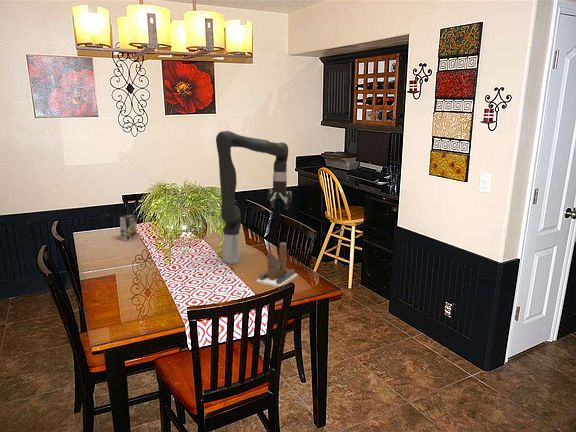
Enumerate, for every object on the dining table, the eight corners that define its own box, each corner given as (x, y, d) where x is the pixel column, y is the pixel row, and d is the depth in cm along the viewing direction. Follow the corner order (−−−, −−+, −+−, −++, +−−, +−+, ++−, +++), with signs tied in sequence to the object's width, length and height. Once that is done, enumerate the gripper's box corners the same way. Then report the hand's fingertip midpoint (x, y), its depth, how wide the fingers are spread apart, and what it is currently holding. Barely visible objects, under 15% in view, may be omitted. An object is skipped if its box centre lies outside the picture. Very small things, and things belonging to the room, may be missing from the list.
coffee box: (127, 241, 291) (126, 217, 287) (120, 240, 293) (119, 216, 289) (137, 238, 299) (136, 215, 295) (130, 236, 301) (129, 214, 297)
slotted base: (256, 282, 226) (256, 275, 226) (274, 271, 243) (274, 264, 242) (280, 288, 220) (280, 280, 219) (297, 276, 237) (297, 269, 236)
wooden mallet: (267, 278, 229) (267, 245, 225) (282, 273, 236) (283, 241, 232) (271, 280, 226) (272, 247, 222) (287, 275, 233) (288, 243, 229)
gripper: (294, 180, 239) (293, 209, 242) (271, 177, 245) (271, 206, 249) (288, 181, 232) (287, 211, 236) (265, 179, 238) (264, 208, 242)
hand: (279, 208), depth 242 cm, fingers open, 8 cm apart
